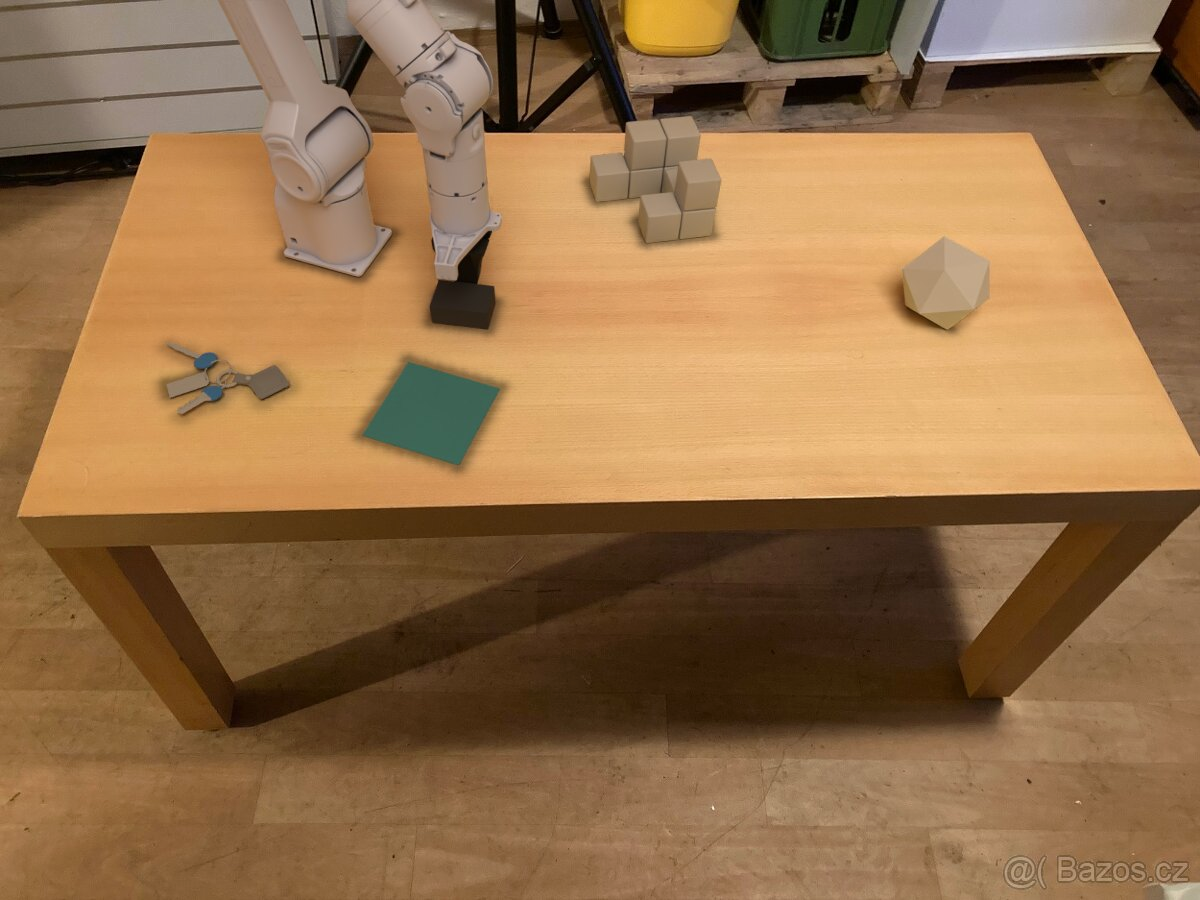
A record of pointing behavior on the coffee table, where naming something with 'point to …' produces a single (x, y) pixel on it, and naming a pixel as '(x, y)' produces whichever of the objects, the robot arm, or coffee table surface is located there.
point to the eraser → (462, 304)
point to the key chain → (259, 382)
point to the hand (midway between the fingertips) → (467, 283)
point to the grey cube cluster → (661, 179)
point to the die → (946, 282)
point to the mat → (432, 413)
